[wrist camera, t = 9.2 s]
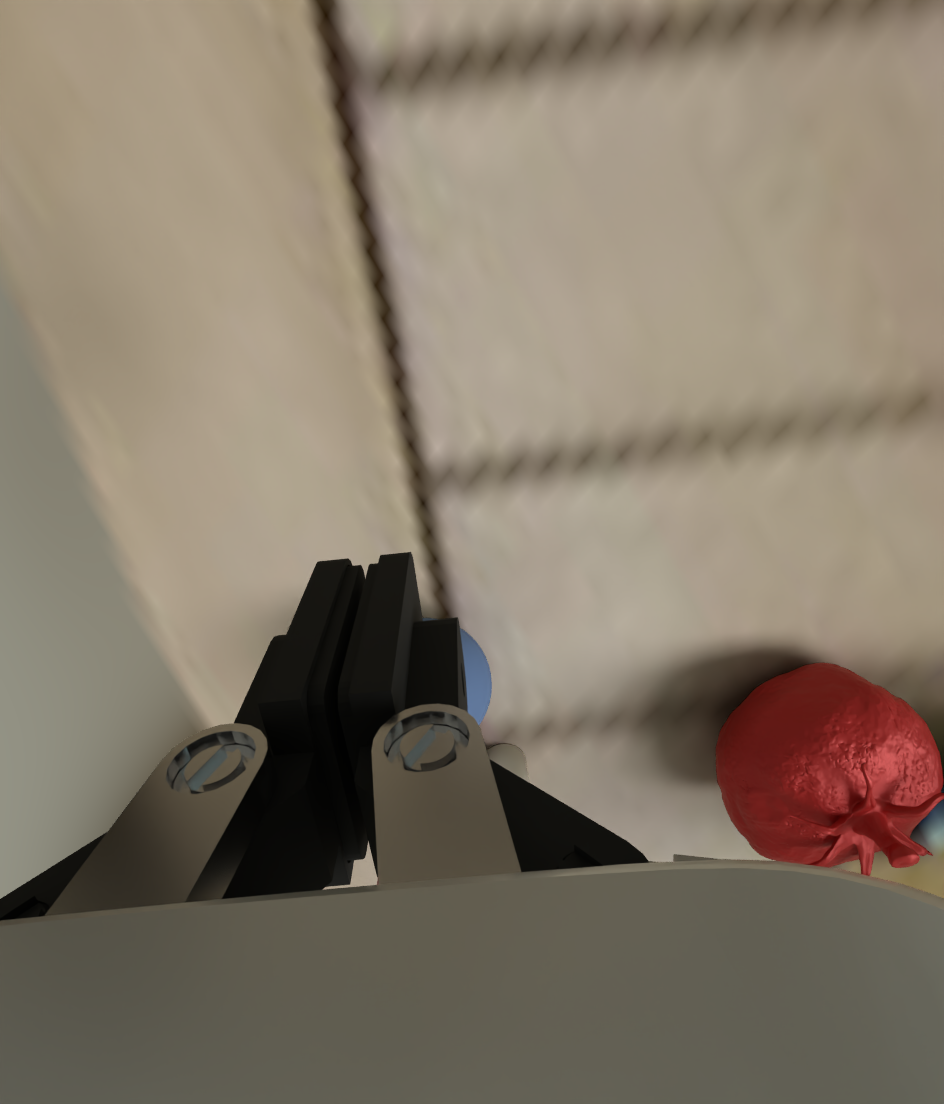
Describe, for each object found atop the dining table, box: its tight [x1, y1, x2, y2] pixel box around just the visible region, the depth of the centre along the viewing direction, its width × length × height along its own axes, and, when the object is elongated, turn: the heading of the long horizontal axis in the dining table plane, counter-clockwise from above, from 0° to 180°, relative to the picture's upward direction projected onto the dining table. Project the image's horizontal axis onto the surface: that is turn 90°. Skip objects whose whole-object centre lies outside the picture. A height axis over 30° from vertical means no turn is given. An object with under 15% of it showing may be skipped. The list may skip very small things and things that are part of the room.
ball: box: [422, 618, 492, 725], centre depth 29 cm, size 6×6×6 cm
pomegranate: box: [716, 663, 944, 876], centre depth 30 cm, size 10×10×9 cm
